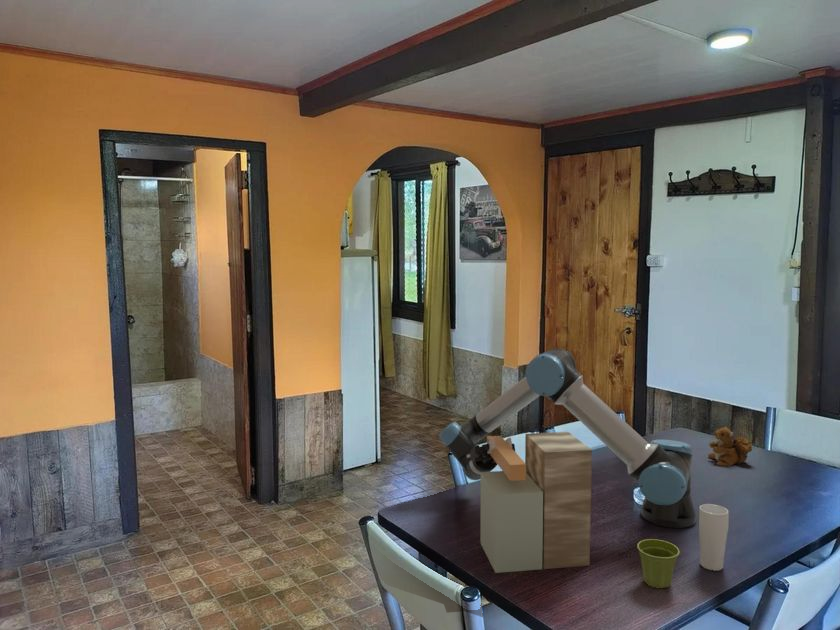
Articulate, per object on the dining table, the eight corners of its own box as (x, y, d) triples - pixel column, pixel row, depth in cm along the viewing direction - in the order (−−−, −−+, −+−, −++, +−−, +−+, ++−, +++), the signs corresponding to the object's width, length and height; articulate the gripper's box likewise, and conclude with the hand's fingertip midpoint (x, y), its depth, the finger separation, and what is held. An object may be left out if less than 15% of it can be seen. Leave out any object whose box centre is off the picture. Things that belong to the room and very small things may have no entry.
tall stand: (524, 540, 173) (525, 433, 170) (566, 536, 174) (568, 431, 171) (543, 569, 157) (545, 452, 154) (589, 565, 158) (591, 450, 155)
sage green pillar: (480, 543, 171) (480, 472, 169) (523, 540, 173) (523, 469, 171) (495, 572, 155) (495, 494, 153) (542, 569, 157) (543, 491, 155)
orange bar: (486, 450, 178) (486, 436, 178) (500, 449, 179) (500, 435, 178) (510, 480, 154) (510, 465, 154) (525, 479, 155) (526, 464, 155)
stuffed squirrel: (705, 457, 240) (707, 423, 239) (745, 459, 238) (747, 425, 236) (712, 465, 231) (714, 430, 229) (754, 467, 228) (755, 432, 227)
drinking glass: (729, 574, 153) (732, 515, 152) (700, 572, 155) (702, 513, 153) (722, 561, 160) (724, 504, 159) (694, 558, 161) (696, 502, 160)
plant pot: (674, 597, 144) (675, 561, 143) (632, 586, 149) (633, 551, 148) (681, 579, 152) (682, 544, 151) (641, 569, 157) (642, 535, 156)
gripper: (512, 471, 190) (534, 455, 169) (457, 474, 188) (472, 458, 167) (509, 446, 193) (530, 428, 172) (455, 449, 191) (469, 430, 170)
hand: (501, 443), depth 169 cm, fingers closed on orange bar, 4 cm apart
